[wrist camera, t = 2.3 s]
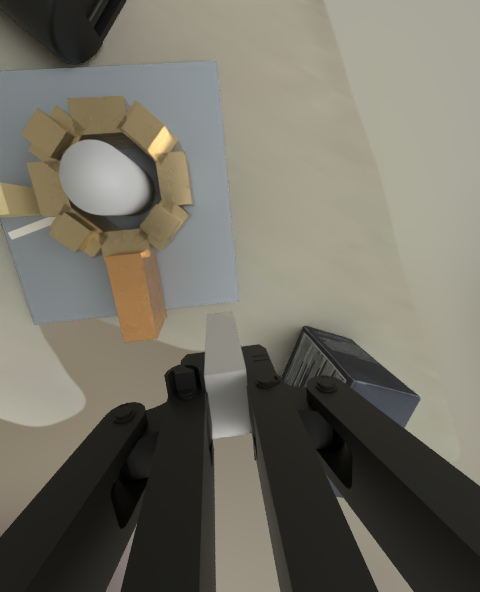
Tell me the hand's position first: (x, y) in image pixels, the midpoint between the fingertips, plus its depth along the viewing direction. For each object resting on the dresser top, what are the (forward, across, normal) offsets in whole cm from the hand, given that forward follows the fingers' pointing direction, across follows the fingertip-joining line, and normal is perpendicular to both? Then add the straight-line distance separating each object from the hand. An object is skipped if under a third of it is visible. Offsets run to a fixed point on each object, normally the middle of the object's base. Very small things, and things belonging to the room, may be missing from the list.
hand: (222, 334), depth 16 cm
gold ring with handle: (+9, -6, +7) cm, 13 cm away
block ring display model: (+11, -7, +9) cm, 16 cm away
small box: (+12, +9, -11) cm, 19 cm away
